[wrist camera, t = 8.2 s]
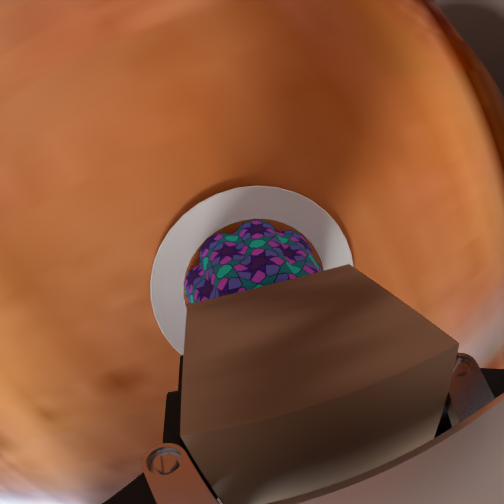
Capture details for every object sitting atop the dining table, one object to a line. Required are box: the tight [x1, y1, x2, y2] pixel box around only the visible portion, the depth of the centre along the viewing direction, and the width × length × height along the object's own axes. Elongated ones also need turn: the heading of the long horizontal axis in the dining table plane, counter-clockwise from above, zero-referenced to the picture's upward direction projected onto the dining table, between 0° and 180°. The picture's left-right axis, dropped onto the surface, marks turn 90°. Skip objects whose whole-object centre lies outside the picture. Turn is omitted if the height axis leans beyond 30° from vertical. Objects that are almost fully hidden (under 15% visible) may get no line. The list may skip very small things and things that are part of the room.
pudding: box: [150, 185, 354, 355], centre depth 16 cm, size 12×12×5 cm
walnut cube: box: [180, 264, 459, 504], centre depth 9 cm, size 6×6×6 cm
